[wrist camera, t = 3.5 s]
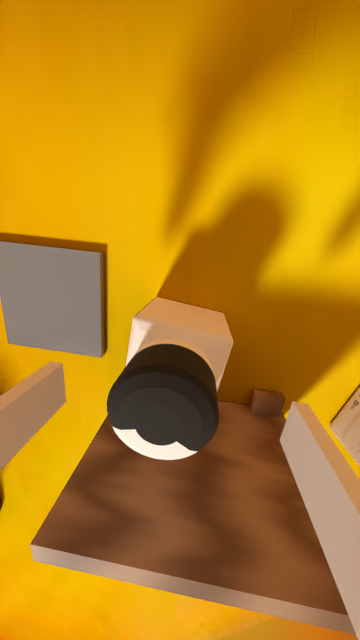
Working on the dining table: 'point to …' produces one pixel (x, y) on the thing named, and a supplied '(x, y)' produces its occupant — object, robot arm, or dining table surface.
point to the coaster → (53, 298)
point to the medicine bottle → (171, 380)
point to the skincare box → (349, 426)
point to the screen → (199, 520)
